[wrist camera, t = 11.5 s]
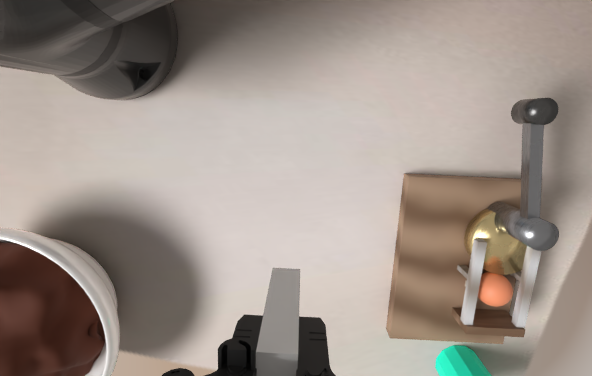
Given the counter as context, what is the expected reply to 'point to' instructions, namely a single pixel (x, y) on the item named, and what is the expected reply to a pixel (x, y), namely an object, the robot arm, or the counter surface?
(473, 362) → the candle
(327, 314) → the counter surface
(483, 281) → the ball
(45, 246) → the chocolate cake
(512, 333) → the stand
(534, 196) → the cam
